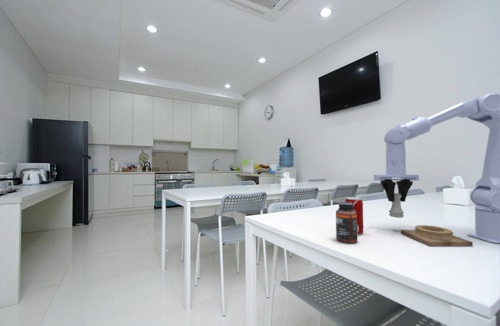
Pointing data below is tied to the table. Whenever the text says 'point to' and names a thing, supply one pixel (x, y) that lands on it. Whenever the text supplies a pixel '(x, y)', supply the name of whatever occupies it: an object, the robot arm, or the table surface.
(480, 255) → the table surface
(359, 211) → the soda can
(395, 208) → the rook chess piece
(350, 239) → the supplement bottle
